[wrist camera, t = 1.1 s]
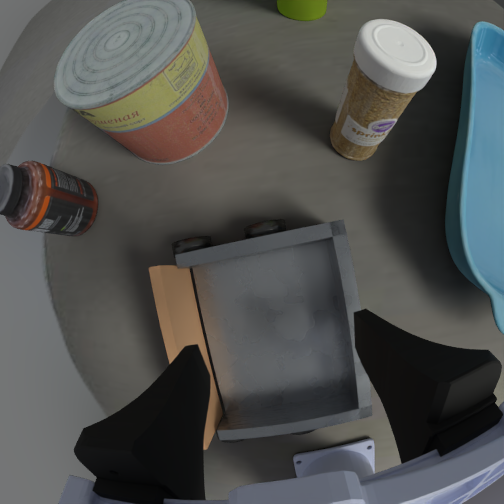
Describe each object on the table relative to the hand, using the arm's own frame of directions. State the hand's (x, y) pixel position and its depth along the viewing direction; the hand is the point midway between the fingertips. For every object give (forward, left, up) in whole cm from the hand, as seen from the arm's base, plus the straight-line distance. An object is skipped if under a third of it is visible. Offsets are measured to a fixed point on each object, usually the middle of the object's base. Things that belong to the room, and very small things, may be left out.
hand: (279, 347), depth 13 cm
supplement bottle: (+13, +19, -12) cm, 26 cm away
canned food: (+20, +7, -12) cm, 24 cm away
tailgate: (-2, +7, -11) cm, 13 cm away
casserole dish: (+8, -30, -12) cm, 33 cm away
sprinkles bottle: (+13, -9, -12) cm, 20 cm away
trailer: (-2, +1, -11) cm, 12 cm away
